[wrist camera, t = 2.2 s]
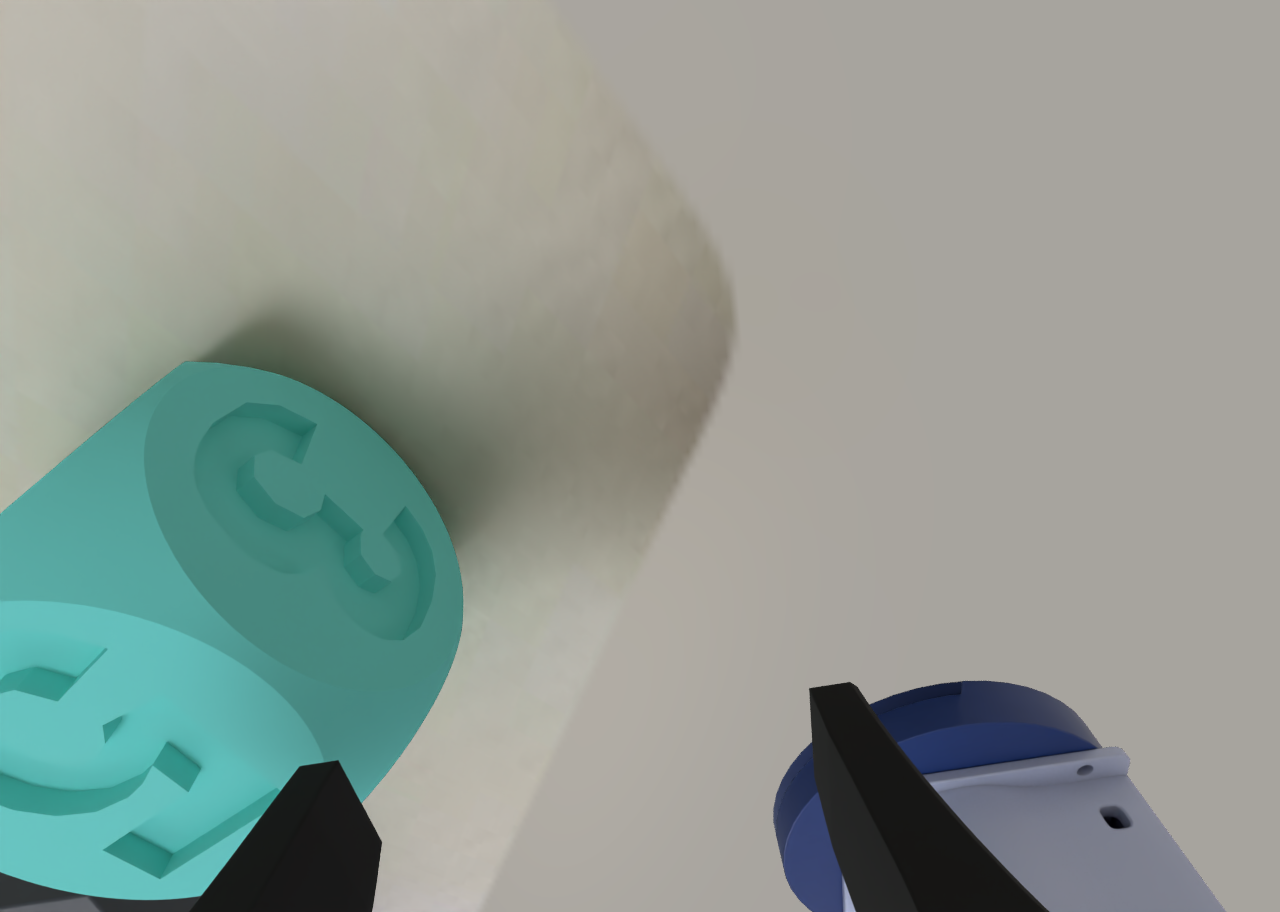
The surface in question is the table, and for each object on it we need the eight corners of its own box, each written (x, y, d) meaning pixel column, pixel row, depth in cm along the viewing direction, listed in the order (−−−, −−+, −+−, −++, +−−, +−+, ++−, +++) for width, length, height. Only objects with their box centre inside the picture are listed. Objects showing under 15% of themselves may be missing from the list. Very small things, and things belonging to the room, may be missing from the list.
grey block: (180, 737, 24) (87, 895, 19) (244, 834, 26) (175, 993, 22) (27, 760, 24) (-99, 923, 19) (106, 854, 26) (9, 1017, 22)
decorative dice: (289, 669, 23) (155, 952, 16) (40, 494, 19) (-273, 755, 12) (488, 531, 21) (436, 785, 14) (249, 308, 17) (15, 494, 10)
